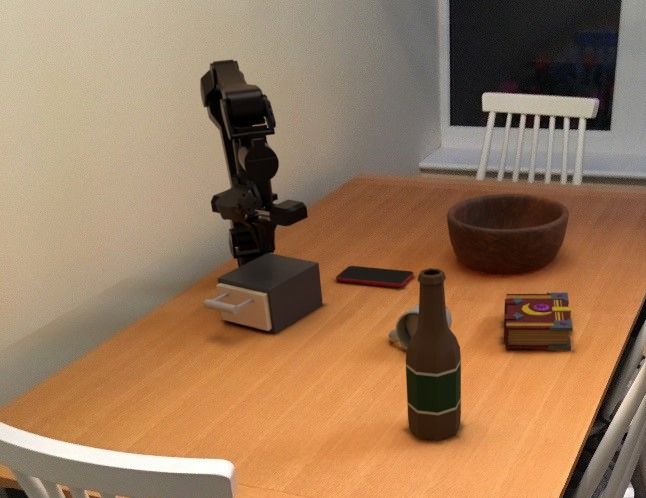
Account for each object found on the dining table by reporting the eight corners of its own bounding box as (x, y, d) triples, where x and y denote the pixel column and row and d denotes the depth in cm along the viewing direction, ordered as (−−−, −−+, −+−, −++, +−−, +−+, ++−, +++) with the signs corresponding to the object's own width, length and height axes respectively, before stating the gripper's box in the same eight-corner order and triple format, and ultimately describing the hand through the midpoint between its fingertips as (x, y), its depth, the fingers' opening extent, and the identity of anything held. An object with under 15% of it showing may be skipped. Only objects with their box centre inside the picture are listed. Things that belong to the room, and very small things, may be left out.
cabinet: (275, 333, 153) (269, 289, 148) (224, 320, 159) (217, 277, 154) (322, 305, 163) (318, 262, 158) (273, 294, 169) (267, 252, 164)
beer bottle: (405, 417, 126) (399, 263, 112) (456, 412, 126) (456, 259, 112) (411, 444, 119) (405, 285, 106) (465, 439, 120) (465, 280, 106)
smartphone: (349, 265, 177) (415, 271, 172) (349, 269, 178) (415, 275, 172) (334, 277, 172) (401, 284, 166) (334, 282, 172) (402, 288, 167)
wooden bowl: (431, 274, 173) (430, 225, 167) (467, 235, 192) (467, 190, 186) (550, 286, 164) (554, 235, 159) (576, 244, 183) (580, 196, 177)
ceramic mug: (455, 338, 147) (454, 297, 143) (435, 357, 141) (434, 315, 137) (401, 330, 152) (399, 290, 147) (380, 348, 146) (377, 307, 142)
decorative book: (503, 351, 142) (504, 324, 139) (504, 312, 155) (505, 287, 152) (571, 352, 141) (573, 324, 138) (566, 313, 154) (568, 287, 151)
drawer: (246, 343, 148) (241, 307, 144) (200, 331, 154) (193, 296, 150) (312, 304, 161) (309, 270, 157) (267, 294, 166) (263, 261, 163)
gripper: (182, 172, 145) (197, 258, 155) (262, 186, 136) (273, 277, 145) (226, 156, 153) (238, 240, 162) (305, 168, 144) (313, 256, 153)
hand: (264, 253), depth 155 cm, fingers closed
